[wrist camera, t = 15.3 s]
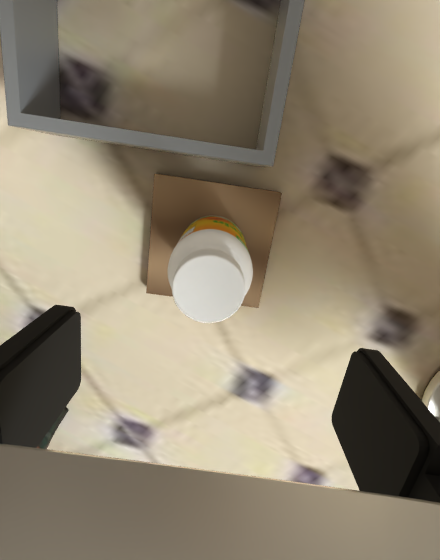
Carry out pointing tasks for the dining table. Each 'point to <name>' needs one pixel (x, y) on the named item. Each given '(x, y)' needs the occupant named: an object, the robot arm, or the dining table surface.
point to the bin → (46, 118)
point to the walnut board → (209, 202)
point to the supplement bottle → (210, 270)
